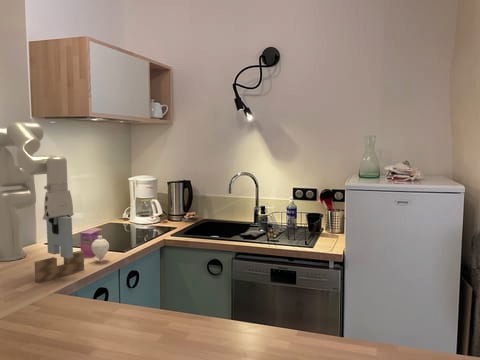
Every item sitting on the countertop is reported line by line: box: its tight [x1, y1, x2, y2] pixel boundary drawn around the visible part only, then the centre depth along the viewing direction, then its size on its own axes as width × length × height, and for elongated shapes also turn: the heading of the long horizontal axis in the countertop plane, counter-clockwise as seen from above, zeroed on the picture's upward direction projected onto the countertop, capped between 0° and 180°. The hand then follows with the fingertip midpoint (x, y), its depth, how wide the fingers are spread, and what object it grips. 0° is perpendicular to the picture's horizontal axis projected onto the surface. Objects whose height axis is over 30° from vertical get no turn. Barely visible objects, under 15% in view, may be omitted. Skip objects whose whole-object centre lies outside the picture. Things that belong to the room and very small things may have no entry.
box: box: [79, 227, 103, 259], centre depth 202 cm, size 10×6×12 cm, turn 168°
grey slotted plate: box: [45, 216, 74, 259], centre depth 170 cm, size 14×2×16 cm, turn 54°
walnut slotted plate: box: [34, 250, 85, 284], centre depth 171 cm, size 20×2×8 cm, turn 144°
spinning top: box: [91, 235, 110, 263], centre depth 190 cm, size 8×8×12 cm
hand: (59, 232), depth 170 cm, fingers closed on grey slotted plate, 2 cm apart
